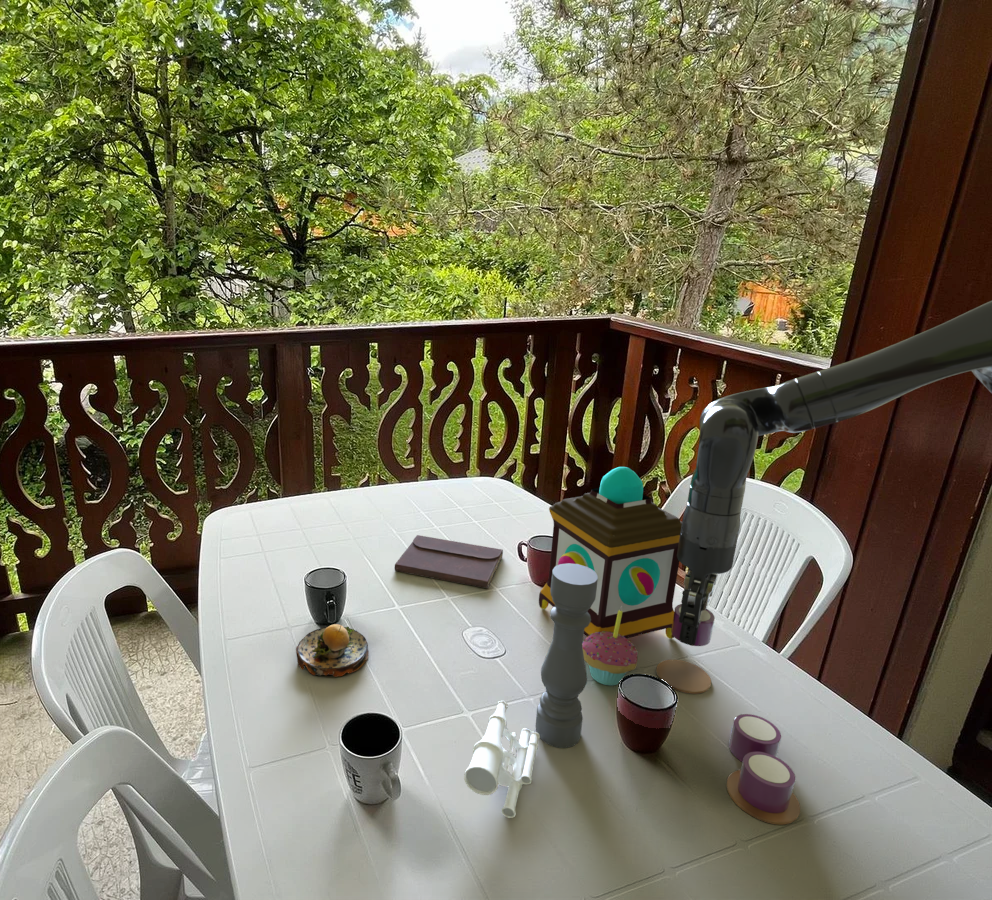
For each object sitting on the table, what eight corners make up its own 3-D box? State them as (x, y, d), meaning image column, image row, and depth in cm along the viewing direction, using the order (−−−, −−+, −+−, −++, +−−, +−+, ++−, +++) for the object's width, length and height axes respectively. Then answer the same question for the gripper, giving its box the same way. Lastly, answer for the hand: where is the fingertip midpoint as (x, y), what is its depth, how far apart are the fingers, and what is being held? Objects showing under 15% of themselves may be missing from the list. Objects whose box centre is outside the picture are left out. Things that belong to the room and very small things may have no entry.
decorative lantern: (613, 586, 128) (631, 444, 118) (688, 641, 110) (717, 479, 101) (527, 605, 121) (539, 455, 112) (593, 667, 103) (614, 495, 94)
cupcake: (595, 653, 107) (603, 590, 103) (644, 676, 101) (654, 611, 97) (568, 676, 101) (575, 610, 97) (618, 702, 95) (628, 633, 92)
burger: (358, 629, 113) (358, 592, 110) (377, 670, 102) (377, 630, 100) (291, 641, 109) (289, 603, 107) (303, 685, 99) (301, 643, 96)
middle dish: (777, 748, 87) (783, 724, 86) (773, 775, 82) (779, 750, 81) (731, 731, 90) (736, 707, 89) (725, 756, 85) (730, 731, 84)
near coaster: (801, 790, 80) (802, 788, 80) (797, 836, 74) (798, 834, 74) (731, 762, 84) (731, 759, 84) (721, 803, 78) (722, 800, 78)
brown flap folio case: (487, 589, 126) (487, 580, 126) (394, 571, 133) (394, 562, 132) (502, 556, 140) (503, 548, 139) (417, 541, 146) (417, 533, 146)
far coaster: (714, 673, 102) (715, 671, 102) (705, 701, 96) (706, 698, 96) (662, 655, 106) (662, 653, 106) (650, 680, 100) (650, 678, 100)
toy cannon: (515, 744, 89) (544, 729, 87) (495, 826, 77) (529, 811, 75) (478, 701, 90) (506, 686, 87) (452, 776, 77) (485, 760, 75)
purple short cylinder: (790, 789, 80) (797, 764, 78) (786, 821, 75) (793, 794, 74) (740, 769, 83) (746, 744, 82) (734, 798, 78) (740, 772, 77)
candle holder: (526, 732, 89) (541, 574, 82) (549, 709, 94) (564, 557, 86) (566, 755, 85) (586, 591, 78) (588, 730, 90) (608, 573, 82)
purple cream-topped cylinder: (713, 633, 99) (717, 610, 98) (706, 650, 95) (711, 627, 94) (675, 621, 102) (679, 599, 101) (667, 638, 98) (671, 615, 97)
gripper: (691, 512, 101) (675, 605, 106) (670, 545, 90) (654, 647, 95) (744, 523, 97) (725, 619, 102) (729, 560, 86) (709, 665, 91)
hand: (691, 632), depth 99 cm, fingers closed on purple cream-topped cylinder, 5 cm apart
